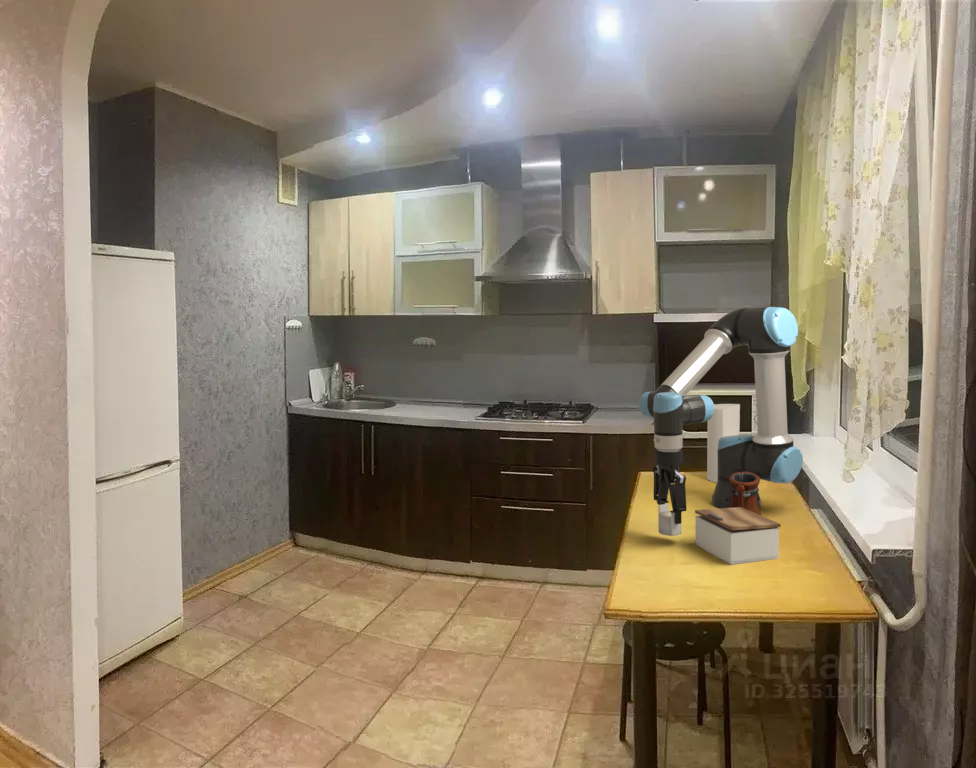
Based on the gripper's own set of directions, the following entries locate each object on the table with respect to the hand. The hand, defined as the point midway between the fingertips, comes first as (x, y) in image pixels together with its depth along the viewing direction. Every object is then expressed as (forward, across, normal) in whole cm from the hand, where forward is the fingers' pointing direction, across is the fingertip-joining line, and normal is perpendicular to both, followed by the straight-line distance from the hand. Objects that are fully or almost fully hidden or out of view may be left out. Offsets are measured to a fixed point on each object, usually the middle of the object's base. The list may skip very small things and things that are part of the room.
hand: (669, 530), depth 187 cm
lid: (-5, +12, +13) cm, 18 cm away
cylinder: (+5, -56, +58) cm, 81 cm away
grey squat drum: (0, 0, 0) cm, 0 cm away
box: (+4, +12, +12) cm, 18 cm away
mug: (+4, -6, +27) cm, 28 cm away
